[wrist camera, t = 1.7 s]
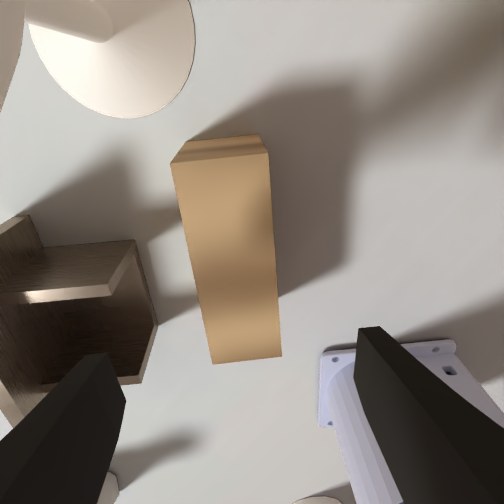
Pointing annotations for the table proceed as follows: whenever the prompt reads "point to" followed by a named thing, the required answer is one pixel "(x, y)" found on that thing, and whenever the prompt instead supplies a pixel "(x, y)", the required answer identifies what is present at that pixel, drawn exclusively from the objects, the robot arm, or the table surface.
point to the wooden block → (231, 244)
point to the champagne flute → (104, 50)
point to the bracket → (67, 313)
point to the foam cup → (318, 500)
